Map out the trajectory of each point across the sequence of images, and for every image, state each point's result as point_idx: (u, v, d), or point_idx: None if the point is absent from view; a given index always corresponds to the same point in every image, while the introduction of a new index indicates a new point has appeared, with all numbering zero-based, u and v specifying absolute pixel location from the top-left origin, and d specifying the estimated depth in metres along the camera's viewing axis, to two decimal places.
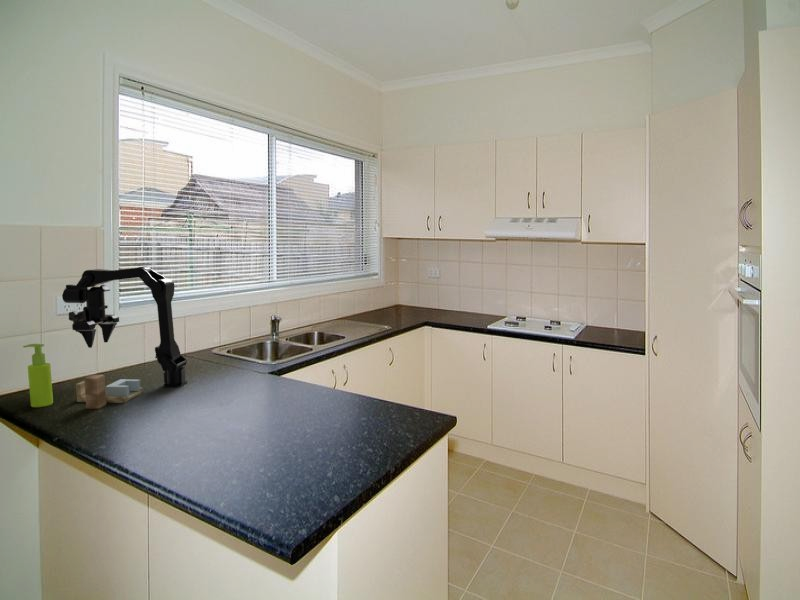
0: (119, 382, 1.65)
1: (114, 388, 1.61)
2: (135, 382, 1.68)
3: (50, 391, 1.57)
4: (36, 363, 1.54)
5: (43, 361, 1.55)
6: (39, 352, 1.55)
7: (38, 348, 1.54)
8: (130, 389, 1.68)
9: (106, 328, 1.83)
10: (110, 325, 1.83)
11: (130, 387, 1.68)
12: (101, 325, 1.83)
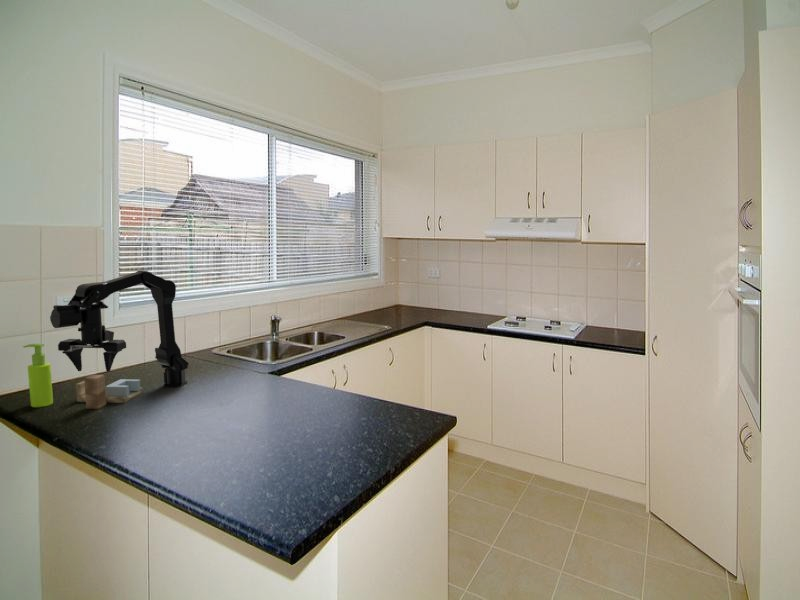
0: (119, 382, 1.65)
1: (114, 388, 1.61)
2: (135, 382, 1.68)
3: (50, 391, 1.57)
4: (36, 363, 1.54)
5: (43, 361, 1.55)
6: (39, 352, 1.55)
7: (38, 348, 1.54)
8: (130, 389, 1.68)
9: None
10: None
11: (130, 387, 1.68)
12: None
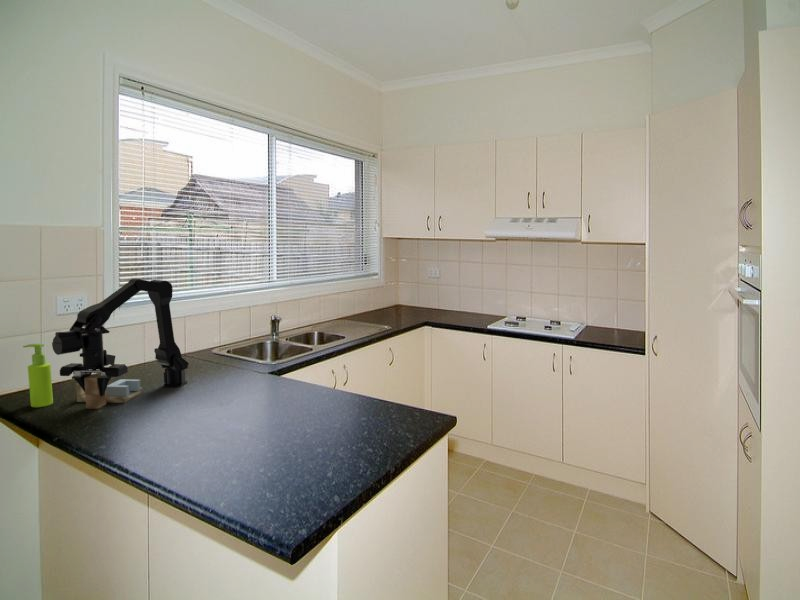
0: (119, 382, 1.65)
1: (114, 388, 1.61)
2: (135, 382, 1.68)
3: (50, 391, 1.57)
4: (36, 363, 1.54)
5: (43, 361, 1.55)
6: (39, 352, 1.55)
7: (38, 348, 1.54)
8: (130, 389, 1.68)
9: None
10: None
11: (130, 387, 1.68)
12: None
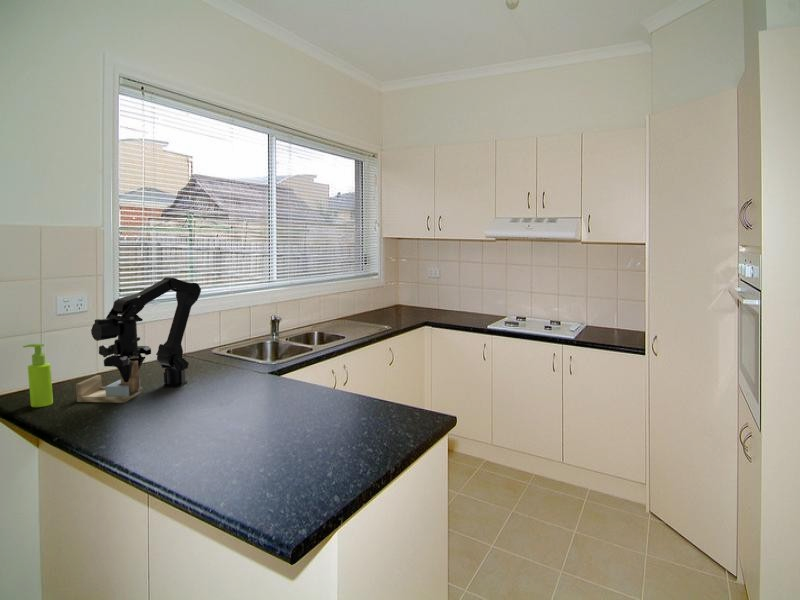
0: (119, 382, 1.65)
1: (114, 388, 1.61)
2: None
3: (50, 391, 1.57)
4: (36, 363, 1.54)
5: (43, 361, 1.55)
6: (39, 352, 1.55)
7: (38, 348, 1.54)
8: None
9: None
10: (138, 360, 1.67)
11: None
12: (128, 360, 1.67)
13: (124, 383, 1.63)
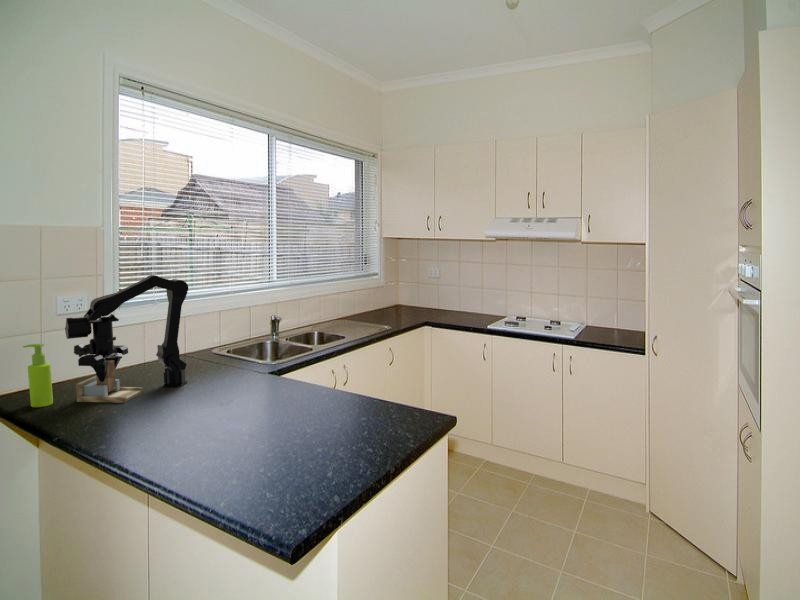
0: None
1: (92, 388, 1.61)
2: None
3: (50, 391, 1.57)
4: (36, 363, 1.54)
5: (43, 361, 1.55)
6: (39, 352, 1.55)
7: (38, 348, 1.54)
8: None
9: None
10: (114, 359, 1.67)
11: None
12: (104, 359, 1.67)
13: (100, 383, 1.63)
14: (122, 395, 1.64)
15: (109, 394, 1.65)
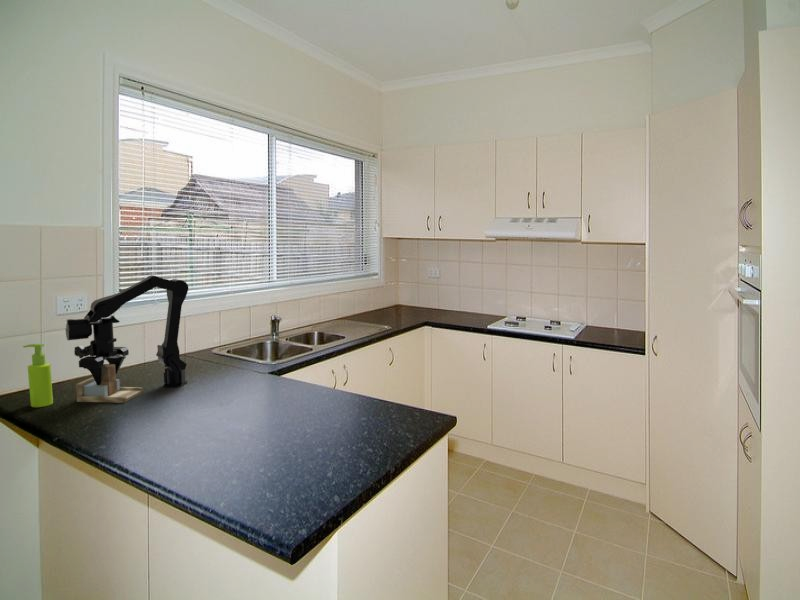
0: None
1: (92, 388, 1.61)
2: None
3: (50, 391, 1.57)
4: (36, 363, 1.54)
5: (43, 361, 1.55)
6: (39, 352, 1.55)
7: (38, 348, 1.54)
8: None
9: (114, 362, 1.69)
10: (118, 359, 1.69)
11: None
12: (108, 359, 1.69)
13: None
14: (122, 395, 1.64)
15: None
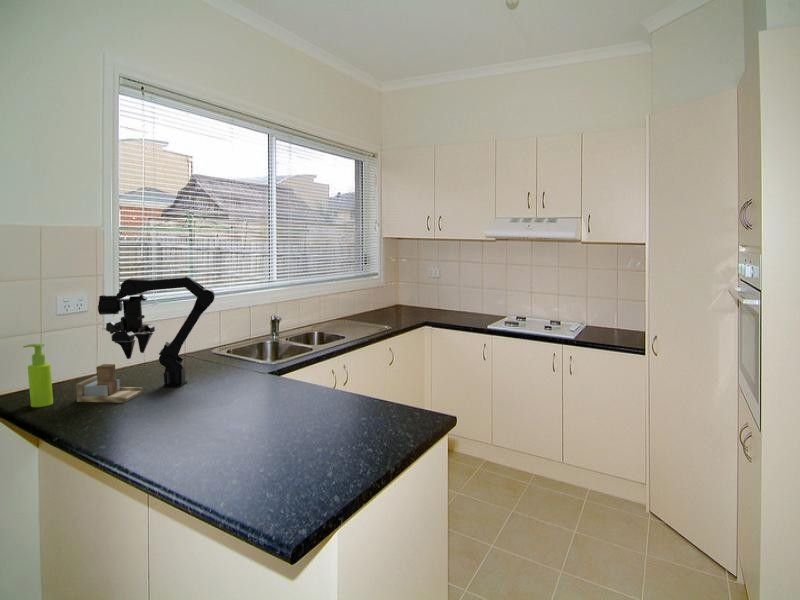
0: None
1: (92, 388, 1.61)
2: None
3: (50, 391, 1.57)
4: (36, 363, 1.54)
5: (43, 361, 1.55)
6: (39, 352, 1.55)
7: (38, 348, 1.54)
8: None
9: (142, 338, 1.79)
10: (146, 335, 1.79)
11: None
12: (137, 335, 1.79)
13: None
14: (122, 395, 1.64)
15: None
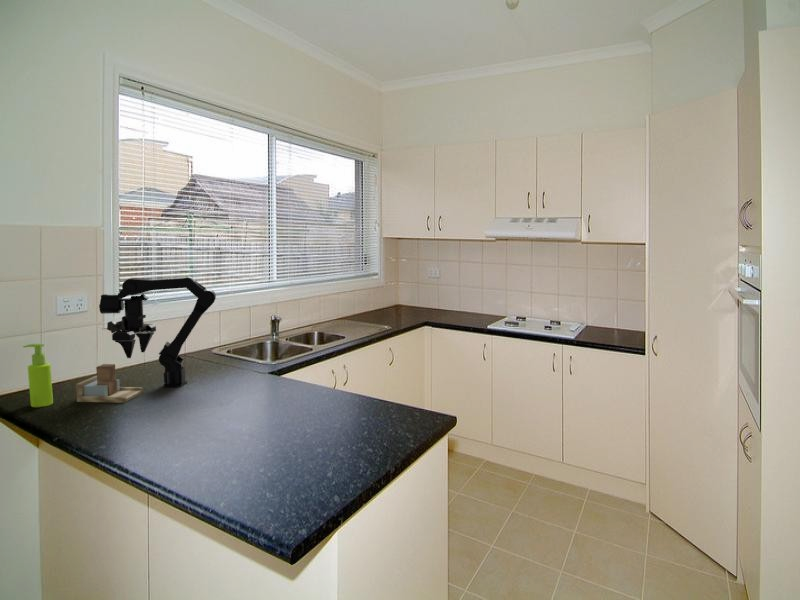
0: None
1: (92, 388, 1.61)
2: None
3: (50, 391, 1.57)
4: (36, 363, 1.54)
5: (43, 361, 1.55)
6: (39, 352, 1.55)
7: (38, 348, 1.54)
8: None
9: (143, 338, 1.80)
10: (147, 335, 1.80)
11: None
12: (138, 335, 1.80)
13: None
14: (122, 395, 1.64)
15: None
